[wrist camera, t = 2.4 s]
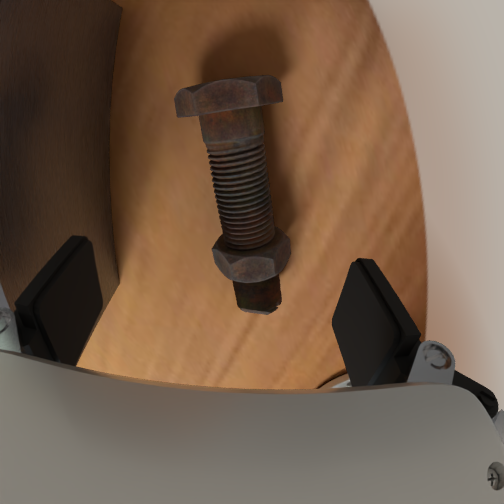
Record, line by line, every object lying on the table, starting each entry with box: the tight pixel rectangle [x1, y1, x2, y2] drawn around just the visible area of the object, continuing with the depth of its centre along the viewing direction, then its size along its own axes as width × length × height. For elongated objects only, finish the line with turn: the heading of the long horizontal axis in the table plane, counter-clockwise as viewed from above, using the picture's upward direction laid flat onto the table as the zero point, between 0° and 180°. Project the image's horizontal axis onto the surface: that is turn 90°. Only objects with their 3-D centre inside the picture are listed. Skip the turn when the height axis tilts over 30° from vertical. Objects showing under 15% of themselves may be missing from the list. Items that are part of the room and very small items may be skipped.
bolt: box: [174, 75, 291, 315], centre depth 18 cm, size 6×5×15 cm
